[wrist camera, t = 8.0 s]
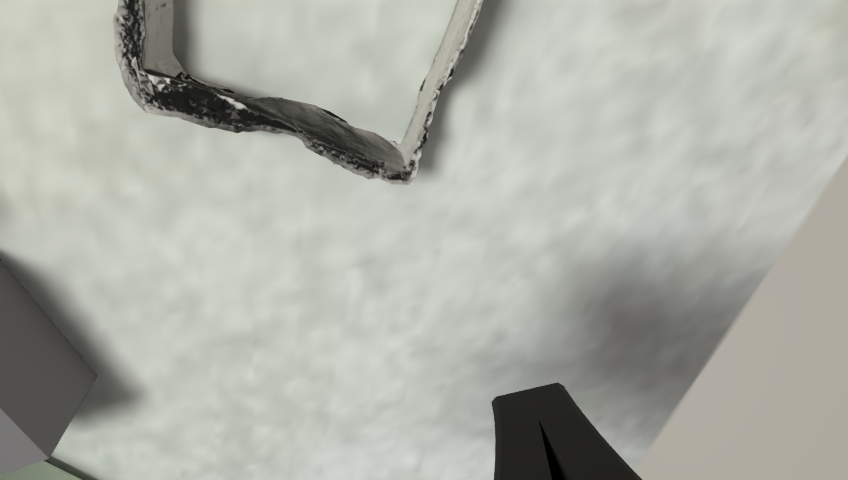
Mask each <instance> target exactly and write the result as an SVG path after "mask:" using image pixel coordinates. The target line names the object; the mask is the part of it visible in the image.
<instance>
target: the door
mask: <svg viewBox="0 0 848 480" xmlns="http://www.w3.org/2000/svg"><path fill="white" fill-rule="evenodd" d="M0 480H81V479H79V478H77V477H75V476H73V475H71V474H69V473H67V472H65V471H63V470H61V469H59V468H57V467H55V466H53V465H51V464H49V463H47V462H45V461H40V462H37V463H35V464H32V465H29V466H26V467H23V468H20V469H17V470H14V471H11V472H8V473H5V474H2V475H0Z"/></svg>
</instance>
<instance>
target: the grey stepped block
mask: <svg viewBox="0 0 848 480" xmlns="http://www.w3.org/2000/svg"><path fill="white" fill-rule="evenodd" d="M96 377H97V375H96V373H95V372H94V371H93V370H92V369H91V367H90V366H89V365H88V364H87V363H86V361H85V360H84V359H83V358H82V357H81V356H80V354H79V353H78V352H77V351H76V350H75V348H74V347H73V346H72V345H71V344H70V342H69V341H68V340H67V339H66V338H65V336H64V335H63V334H62V333H61V332H60V330H59V329H58V328H57V327H56V326H55V324H54V323H53V322H52V321H51V320H50V318H49V317H48V316H47V315H46V314H45V313H44V311H43V310H42V309H41V308H40V307H39V305H38V304H37V303H36V302H35V301H34V299H33V298H32V297H31V296H30V295H29V293H28V292H27V291H26V290H25V289H24V287H23V286H22V285H21V284H20V283H19V281H18V280H17V279H16V278H15V277H14V275H13V274H12V273H11V272H10V271H9V270H8V268H7V267H6V266H5V265H4V264H3V262H2V261H1V260H0V475H2V474H5V473H8V472H11V471H14V470H17V469H20V468H23V467H26V466H29V465H32V464H35V463H37V462H40V461H43V460H46V459H49V458H50V456H51V454H52V453H53V451H54V449H55V447H56V446H57V444H58V442H59V441H60V439H61V437H62V435H63V434H64V432H65V430H66V429H67V427H68V425H69V423H70V422H71V420H72V418H73V416H74V415H75V413H76V411H77V410H78V408H79V406H80V404H81V403H82V401H83V399H84V398H85V396H86V394H87V392H88V391H89V389H90V387H91V386H92V384H93V382H94V380H95V379H96Z"/></svg>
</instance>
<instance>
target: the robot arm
mask: <svg viewBox="0 0 848 480" xmlns="http://www.w3.org/2000/svg"><path fill="white" fill-rule="evenodd" d="M492 407H493V412H494V421H495V438H496V446H495V472H494V480H642V479H641V478H640V477H639V476H638V475H637V474H636V473H635V472H634V471H633V470H632V469H631V468H630V467H629V465H628V464H627V463H626V462H625V461H624V460H623V459H622V458H621V457H620V456H619V455H618V454H617V453H616V451H615V450H614V449H613V448H612V447H611V446H610V445H609V444H608V443H607V442H606V440H605V439H604V438H603V437H602V436H601V435H600V434H599V432H598V431H597V430H596V429H595V427H594V426H593V425H592V424H591V423H590V421H589V420H588V419H587V418H586V416H585V415H584V414H583V413H582V411H581V410H580V409H579V407H578V406H577V405H576V403H575V402H574V401H573V399H572V398H571V396H570V395H569V394H568V392H567V390H566V389H565V387H564V386H563V385H561V384H559V383H554V384H549V385H545V386H541V387H536V388H532V389H528V390H523V391H519V392H515V393H510V394H506V395H502V396H497V397H496V398H495V399H494V400H493V401H492Z"/></svg>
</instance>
